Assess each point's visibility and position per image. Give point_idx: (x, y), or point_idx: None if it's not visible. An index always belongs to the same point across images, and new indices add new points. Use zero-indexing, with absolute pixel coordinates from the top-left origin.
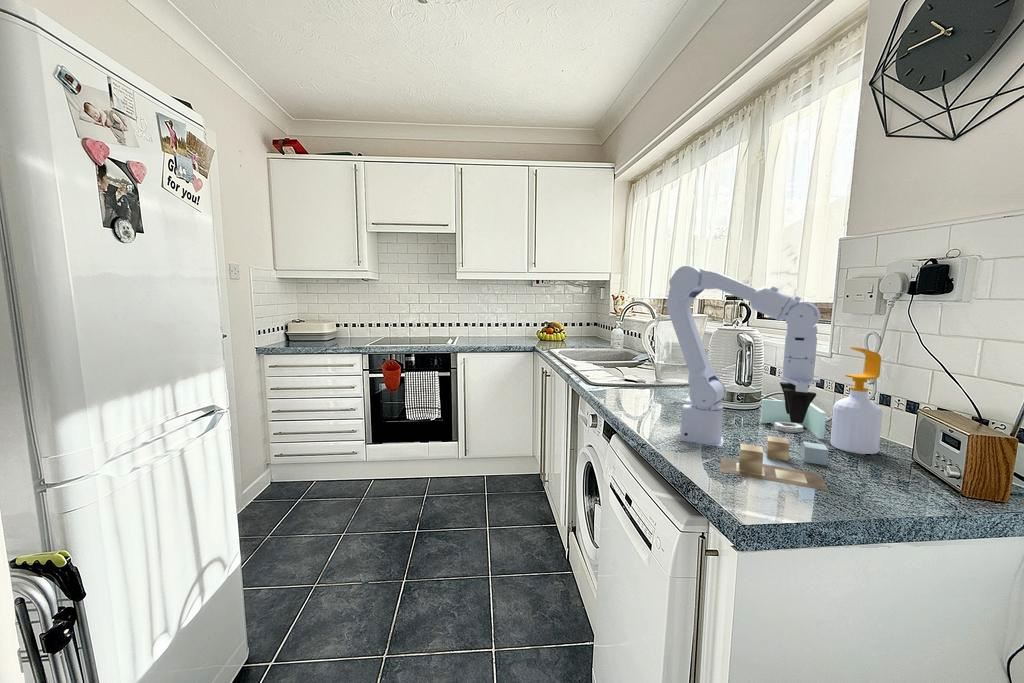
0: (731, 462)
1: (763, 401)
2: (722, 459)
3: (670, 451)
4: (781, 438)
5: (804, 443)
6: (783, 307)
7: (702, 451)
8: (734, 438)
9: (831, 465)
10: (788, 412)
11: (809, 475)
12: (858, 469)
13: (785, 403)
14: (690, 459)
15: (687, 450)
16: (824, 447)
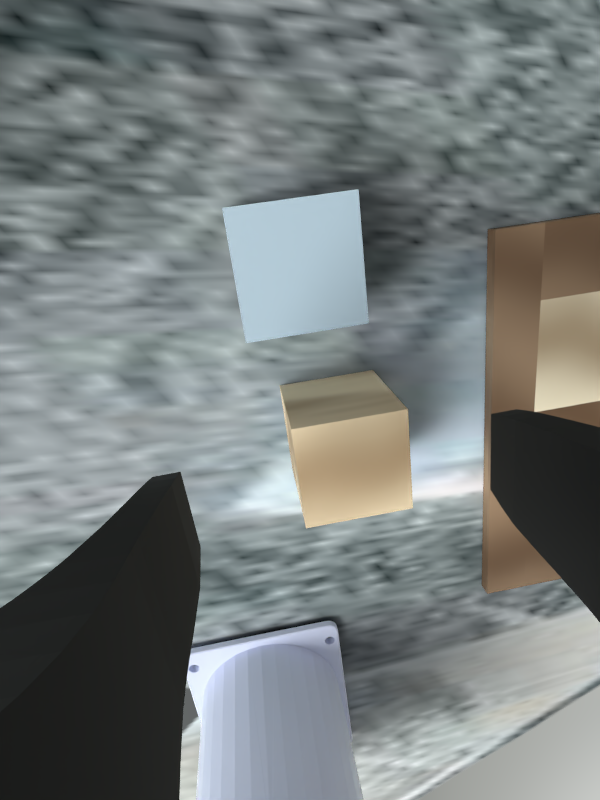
0: (533, 553)
1: None
2: (513, 584)
3: (476, 719)
4: (315, 458)
5: (286, 332)
6: None
7: (414, 654)
8: None
9: (266, 168)
10: (194, 547)
11: (552, 276)
12: (240, 9)
13: (189, 646)
14: (528, 654)
15: (433, 689)
16: (300, 211)
